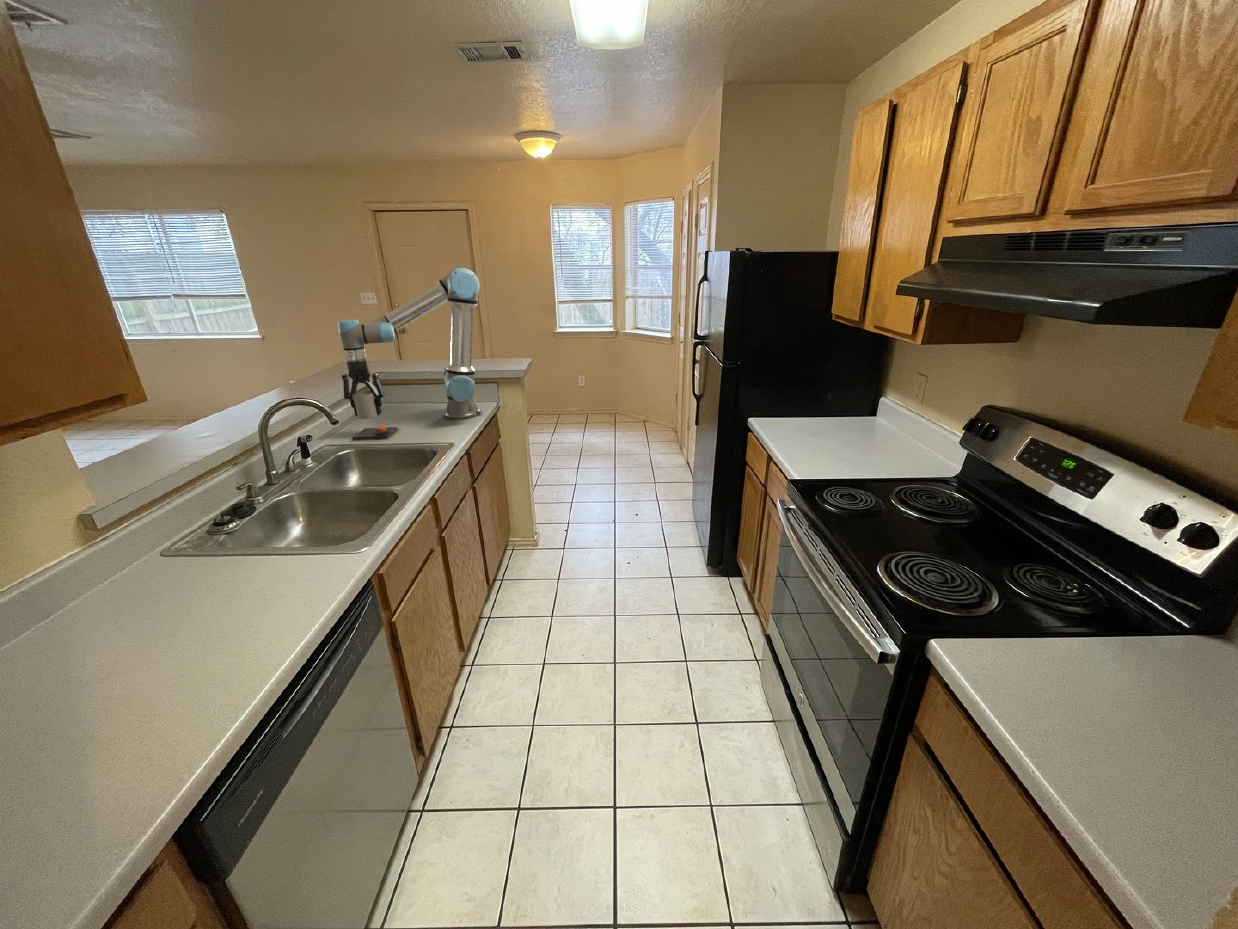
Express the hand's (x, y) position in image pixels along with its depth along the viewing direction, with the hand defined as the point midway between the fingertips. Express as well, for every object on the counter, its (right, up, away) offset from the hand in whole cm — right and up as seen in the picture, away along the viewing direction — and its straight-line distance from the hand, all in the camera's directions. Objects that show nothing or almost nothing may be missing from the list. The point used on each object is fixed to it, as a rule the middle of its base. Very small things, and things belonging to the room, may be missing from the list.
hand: (368, 414), depth 211 cm
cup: (0, -1, 0) cm, 1 cm away
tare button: (+6, -7, -2) cm, 10 cm away
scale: (+2, -8, +3) cm, 9 cm away
